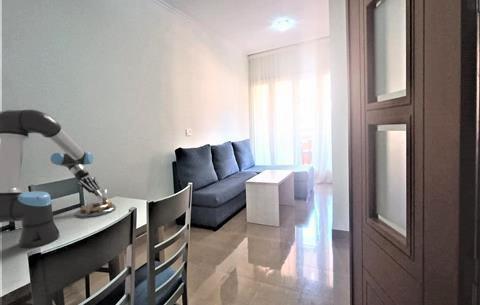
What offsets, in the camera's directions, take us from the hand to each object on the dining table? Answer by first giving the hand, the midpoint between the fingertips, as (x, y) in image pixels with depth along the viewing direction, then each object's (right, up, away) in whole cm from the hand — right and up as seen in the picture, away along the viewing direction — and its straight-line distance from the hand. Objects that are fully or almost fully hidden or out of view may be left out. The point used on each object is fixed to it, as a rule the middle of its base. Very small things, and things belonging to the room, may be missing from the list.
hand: (102, 198), depth 166 cm
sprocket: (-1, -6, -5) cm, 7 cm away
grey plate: (-1, -8, -5) cm, 9 cm away
